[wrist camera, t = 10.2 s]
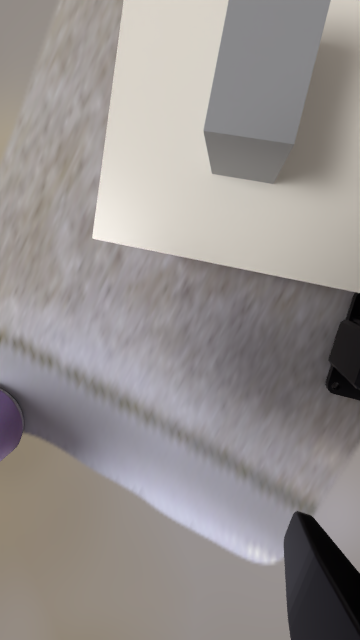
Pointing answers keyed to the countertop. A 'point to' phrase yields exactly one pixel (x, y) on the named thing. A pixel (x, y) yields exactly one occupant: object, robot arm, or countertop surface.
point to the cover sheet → (180, 159)
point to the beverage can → (9, 424)
